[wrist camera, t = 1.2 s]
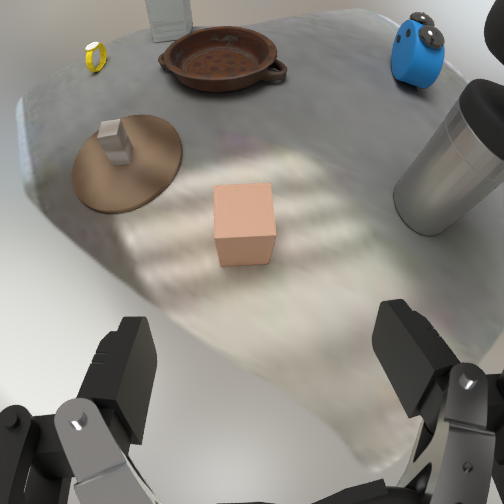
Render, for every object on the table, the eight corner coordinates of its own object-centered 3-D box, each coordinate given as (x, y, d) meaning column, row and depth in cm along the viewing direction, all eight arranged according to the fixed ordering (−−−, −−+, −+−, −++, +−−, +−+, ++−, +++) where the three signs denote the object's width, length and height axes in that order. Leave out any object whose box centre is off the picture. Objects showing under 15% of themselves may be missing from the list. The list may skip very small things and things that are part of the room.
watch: (100, 76, 45) (90, 54, 40) (88, 77, 45) (78, 57, 40) (112, 57, 47) (104, 36, 41) (100, 58, 47) (92, 38, 41)
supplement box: (193, 24, 51) (189, -23, 39) (188, 39, 49) (182, -13, 37) (160, 27, 51) (152, -19, 39) (152, 43, 48) (142, -7, 37)
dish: (179, 43, 48) (176, 23, 44) (291, 54, 48) (294, 33, 43) (141, 98, 43) (134, 75, 38) (278, 112, 42) (281, 87, 37)
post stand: (131, 106, 42) (120, 74, 35) (206, 147, 39) (201, 110, 32) (56, 178, 37) (34, 150, 30) (121, 237, 34) (98, 210, 27)
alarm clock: (424, 102, 45) (456, 44, 31) (395, 92, 45) (424, 29, 31) (411, 65, 49) (435, 14, 35) (385, 56, 50) (406, 2, 35)
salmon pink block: (219, 222, 35) (213, 185, 27) (264, 220, 35) (270, 183, 28) (220, 266, 33) (214, 238, 26) (268, 263, 34) (276, 235, 26)
